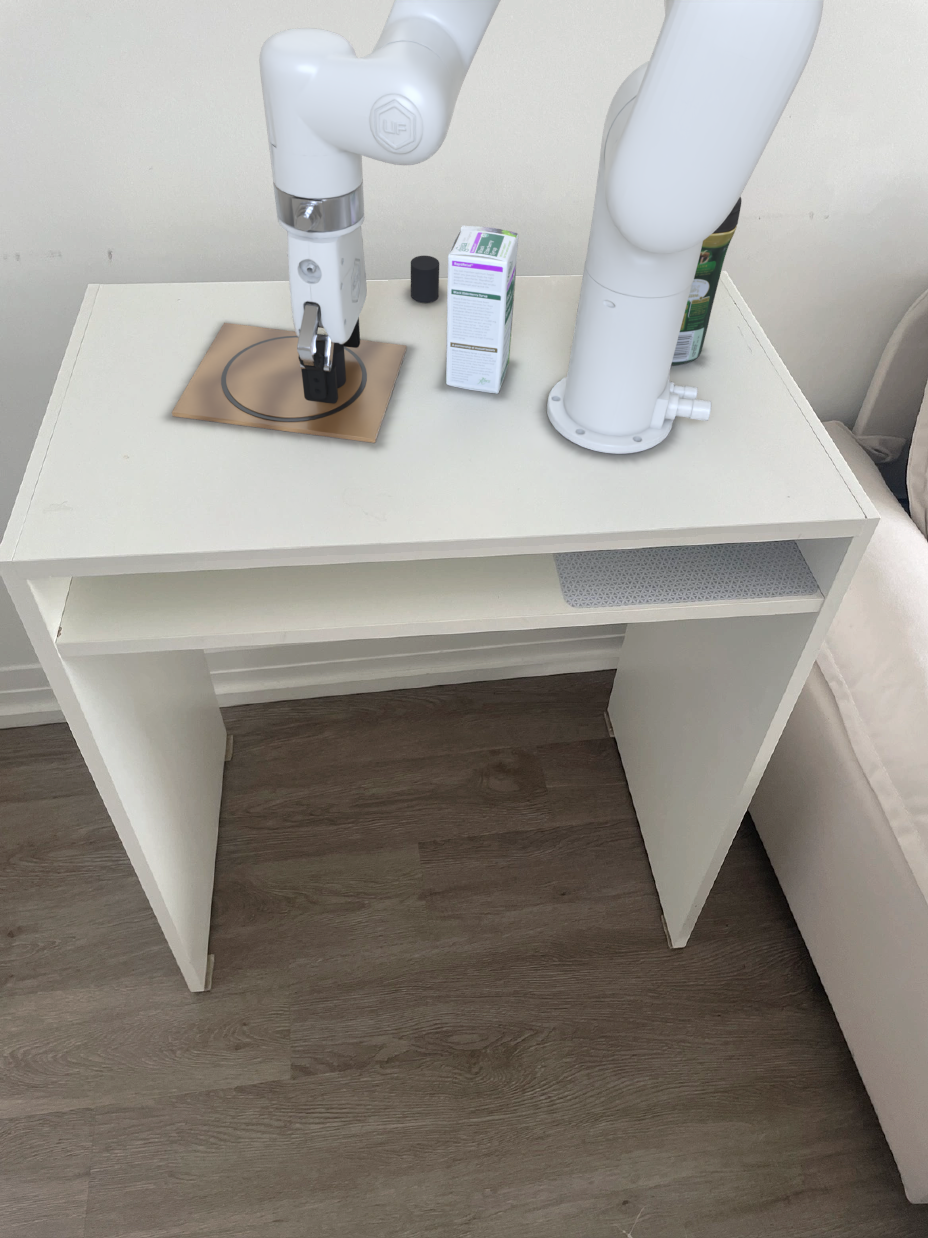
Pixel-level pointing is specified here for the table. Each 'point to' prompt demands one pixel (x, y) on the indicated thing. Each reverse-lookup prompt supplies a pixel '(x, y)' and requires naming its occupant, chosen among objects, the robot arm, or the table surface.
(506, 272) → the syrup box
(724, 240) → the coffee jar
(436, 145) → the robot arm
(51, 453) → the table surface
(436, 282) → the black cylinder
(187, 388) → the sketch board
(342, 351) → the black cylindrical block
